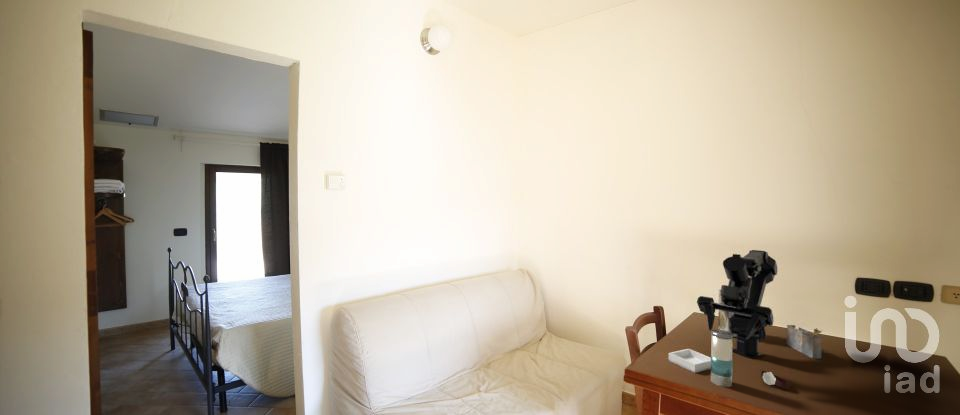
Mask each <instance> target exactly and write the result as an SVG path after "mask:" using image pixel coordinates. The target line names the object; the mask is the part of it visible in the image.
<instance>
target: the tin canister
mask: <svg viewBox="0 0 960 415" xmlns="http://www.w3.org/2000/svg"><path fill="white" fill-rule="evenodd" d="M710 335H711V339H710V340H711V343H710V344H711V345H710V346H711V348H710V349H711V350H710V351H711V352H710V353H711V354H710V358H711V369H710V382H712V384H714V385H716V386H719V387H725V388H729V387H732V386H733V363H734V362H733V360H734V359H733V351H732V350H733V338H734V337H733V334H732V333H731V332H728V331H724V330H719V329H712V330H711V331H710Z"/></svg>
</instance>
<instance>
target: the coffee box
mask: <svg viewBox="0 0 960 415" xmlns="http://www.w3.org/2000/svg"><path fill="white" fill-rule="evenodd" d="M720 294H721V289H718V303H720V304H723V303H724V302H722V300H721V298H722V296H721V295H720ZM733 315H734V313H731V312H727V311H722V310H718V330H724V331H728V332H731V324H730V321H731V317H732V316H733ZM734 337H736V338H737V334H733V338H734Z"/></svg>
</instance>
